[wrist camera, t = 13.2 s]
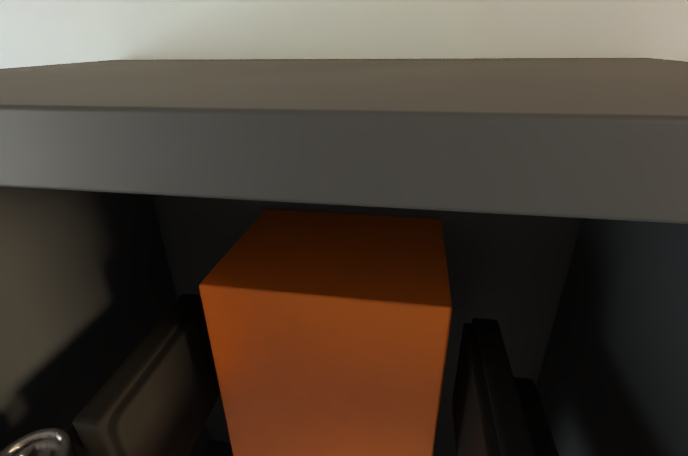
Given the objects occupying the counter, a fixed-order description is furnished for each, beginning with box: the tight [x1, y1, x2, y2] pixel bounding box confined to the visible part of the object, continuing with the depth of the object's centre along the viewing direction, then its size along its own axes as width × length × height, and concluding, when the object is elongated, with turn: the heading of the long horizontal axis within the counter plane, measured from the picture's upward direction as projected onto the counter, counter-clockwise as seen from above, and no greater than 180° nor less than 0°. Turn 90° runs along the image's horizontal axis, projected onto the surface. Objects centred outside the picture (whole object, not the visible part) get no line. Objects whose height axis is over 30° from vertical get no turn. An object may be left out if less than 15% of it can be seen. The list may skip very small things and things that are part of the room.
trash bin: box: [0, 58, 688, 456], centre depth 10 cm, size 16×14×8 cm
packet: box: [199, 209, 452, 456], centre depth 11 cm, size 9×5×4 cm, turn 1°
